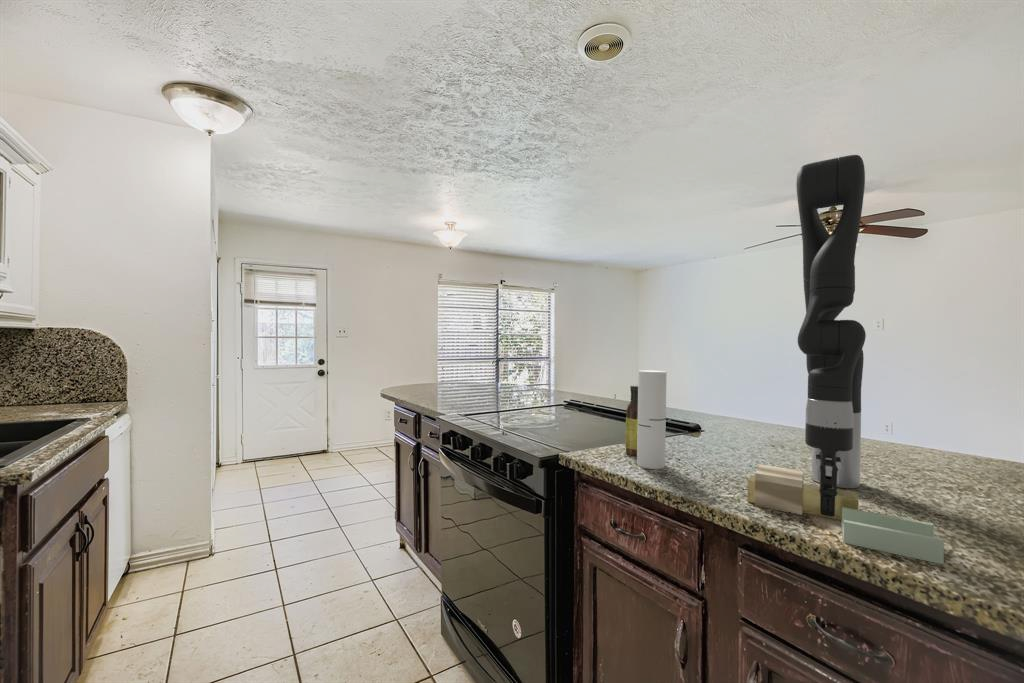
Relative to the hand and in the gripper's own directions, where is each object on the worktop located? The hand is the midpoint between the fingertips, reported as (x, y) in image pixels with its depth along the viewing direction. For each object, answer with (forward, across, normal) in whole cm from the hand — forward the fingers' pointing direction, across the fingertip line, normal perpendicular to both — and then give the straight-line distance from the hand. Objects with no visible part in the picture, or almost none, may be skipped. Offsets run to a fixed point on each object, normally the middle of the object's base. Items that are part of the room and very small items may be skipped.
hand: (827, 510), depth 86 cm
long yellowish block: (-2, 0, +4) cm, 5 cm away
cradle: (+1, -10, -8) cm, 13 cm away
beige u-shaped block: (+1, 0, +8) cm, 8 cm away
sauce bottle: (+1, +22, +45) cm, 50 cm away
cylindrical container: (+1, +13, +38) cm, 40 cm away
